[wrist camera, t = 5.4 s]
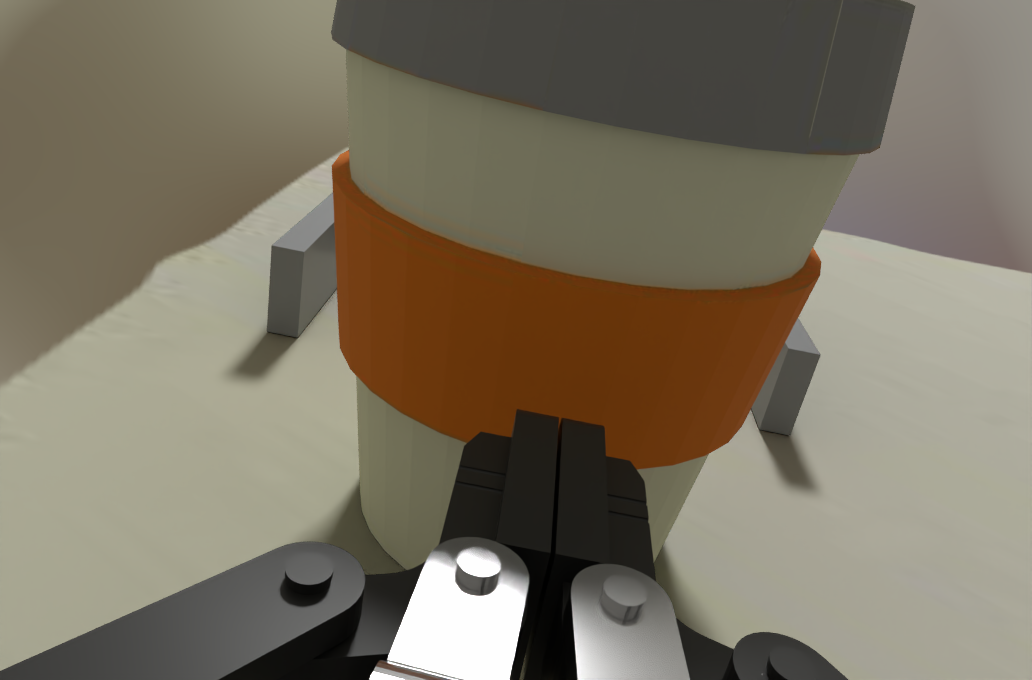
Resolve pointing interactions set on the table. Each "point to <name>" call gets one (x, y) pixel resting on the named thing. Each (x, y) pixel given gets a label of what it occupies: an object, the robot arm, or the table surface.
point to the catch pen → (312, 280)
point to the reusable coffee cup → (585, 222)
